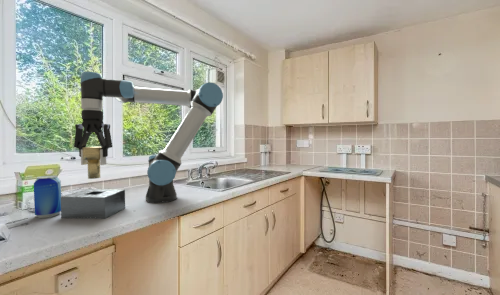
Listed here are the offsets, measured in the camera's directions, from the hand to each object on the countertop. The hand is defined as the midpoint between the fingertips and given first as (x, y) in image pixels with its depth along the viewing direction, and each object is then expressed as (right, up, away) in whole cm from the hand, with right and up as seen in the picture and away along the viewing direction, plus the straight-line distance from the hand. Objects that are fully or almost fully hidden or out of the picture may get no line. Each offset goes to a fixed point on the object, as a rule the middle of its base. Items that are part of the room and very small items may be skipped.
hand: (93, 164), depth 100 cm
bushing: (0, -6, 0) cm, 6 cm away
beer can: (-17, -21, -2) cm, 27 cm away
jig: (0, -21, +1) cm, 21 cm away
